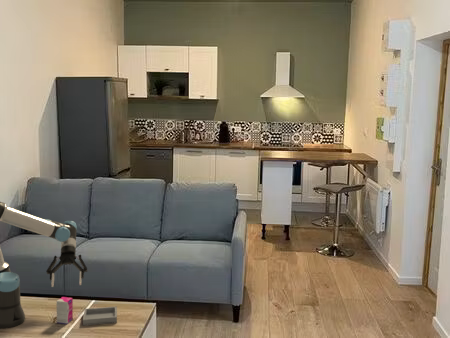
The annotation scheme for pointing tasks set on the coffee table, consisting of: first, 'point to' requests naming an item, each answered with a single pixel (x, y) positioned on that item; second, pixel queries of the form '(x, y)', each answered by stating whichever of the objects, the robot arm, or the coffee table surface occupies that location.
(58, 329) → the coffee table surface
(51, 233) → the robot arm
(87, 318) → the tray
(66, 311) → the supplement box
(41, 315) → the coffee table surface
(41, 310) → the coffee table surface
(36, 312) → the coffee table surface
